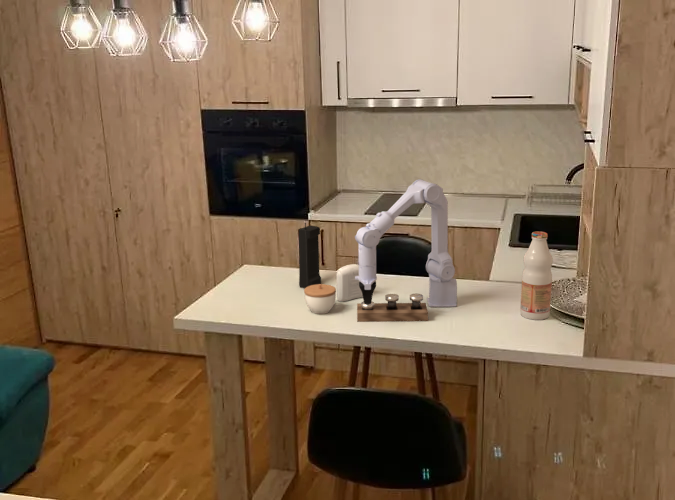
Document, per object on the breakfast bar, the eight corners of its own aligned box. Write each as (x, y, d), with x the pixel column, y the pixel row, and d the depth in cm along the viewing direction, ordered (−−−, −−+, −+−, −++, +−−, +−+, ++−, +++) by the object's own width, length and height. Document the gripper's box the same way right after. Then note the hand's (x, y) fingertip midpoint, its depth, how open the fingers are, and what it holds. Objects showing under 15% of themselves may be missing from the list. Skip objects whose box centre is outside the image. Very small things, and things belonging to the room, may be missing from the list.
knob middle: (398, 306, 242) (398, 293, 240) (399, 310, 237) (399, 298, 236) (385, 306, 242) (385, 293, 241) (385, 310, 238) (385, 298, 236)
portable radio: (310, 281, 277) (308, 217, 270) (323, 284, 273) (321, 219, 266) (297, 287, 271) (295, 222, 264) (310, 290, 267) (308, 224, 260)
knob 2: (422, 305, 241) (422, 293, 240) (423, 310, 237) (423, 297, 236) (409, 305, 241) (409, 293, 240) (410, 310, 237) (410, 298, 236)
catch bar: (425, 311, 244) (425, 302, 243) (427, 321, 236) (428, 312, 235) (357, 311, 245) (357, 303, 244) (357, 321, 236) (357, 313, 236)
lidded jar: (337, 305, 252) (336, 279, 249) (335, 316, 241) (334, 289, 239) (306, 305, 252) (305, 279, 250) (303, 316, 242) (302, 289, 239)
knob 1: (374, 313, 243) (374, 300, 241) (374, 318, 238) (374, 305, 237) (361, 313, 243) (361, 300, 241) (361, 318, 238) (361, 305, 237)
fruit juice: (515, 316, 238) (519, 234, 230) (526, 308, 245) (531, 228, 237) (543, 322, 233) (548, 238, 225) (553, 313, 240) (559, 231, 232)
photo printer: (358, 293, 263) (358, 261, 259) (365, 296, 259) (365, 263, 256) (334, 299, 257) (334, 266, 254) (341, 302, 254) (341, 269, 250)
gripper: (355, 257, 243) (355, 296, 246) (354, 271, 229) (355, 311, 232) (376, 257, 242) (376, 295, 246) (377, 270, 228) (377, 311, 232)
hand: (367, 303), depth 239 cm, fingers closed, pressing on knob 1
